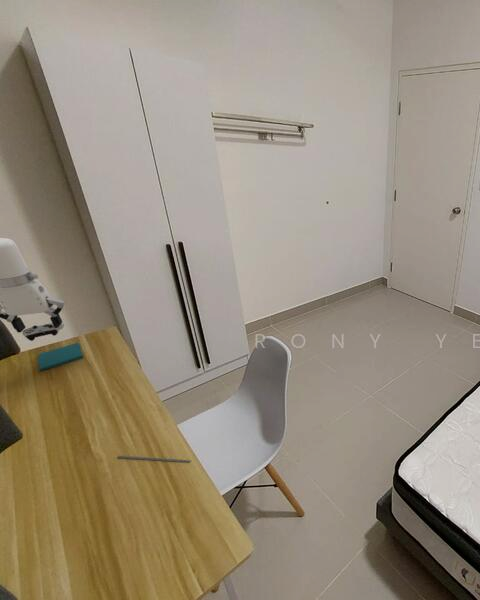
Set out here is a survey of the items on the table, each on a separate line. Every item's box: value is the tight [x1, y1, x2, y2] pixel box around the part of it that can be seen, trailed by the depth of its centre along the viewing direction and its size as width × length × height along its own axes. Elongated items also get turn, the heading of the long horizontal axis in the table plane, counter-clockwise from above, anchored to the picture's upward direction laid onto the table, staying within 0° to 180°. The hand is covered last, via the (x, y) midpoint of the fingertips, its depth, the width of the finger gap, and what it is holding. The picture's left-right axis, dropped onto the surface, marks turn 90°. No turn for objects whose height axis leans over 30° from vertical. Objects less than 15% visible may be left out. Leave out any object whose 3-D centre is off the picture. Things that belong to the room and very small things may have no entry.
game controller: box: [21, 322, 65, 342], centre depth 107 cm, size 10×5×6 cm
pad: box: [36, 342, 84, 372], centre depth 118 cm, size 11×11×1 cm
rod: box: [116, 455, 192, 464], centre depth 85 cm, size 1×19×1 cm, turn 88°
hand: (40, 327), depth 106 cm, fingers closed on game controller, 8 cm apart
